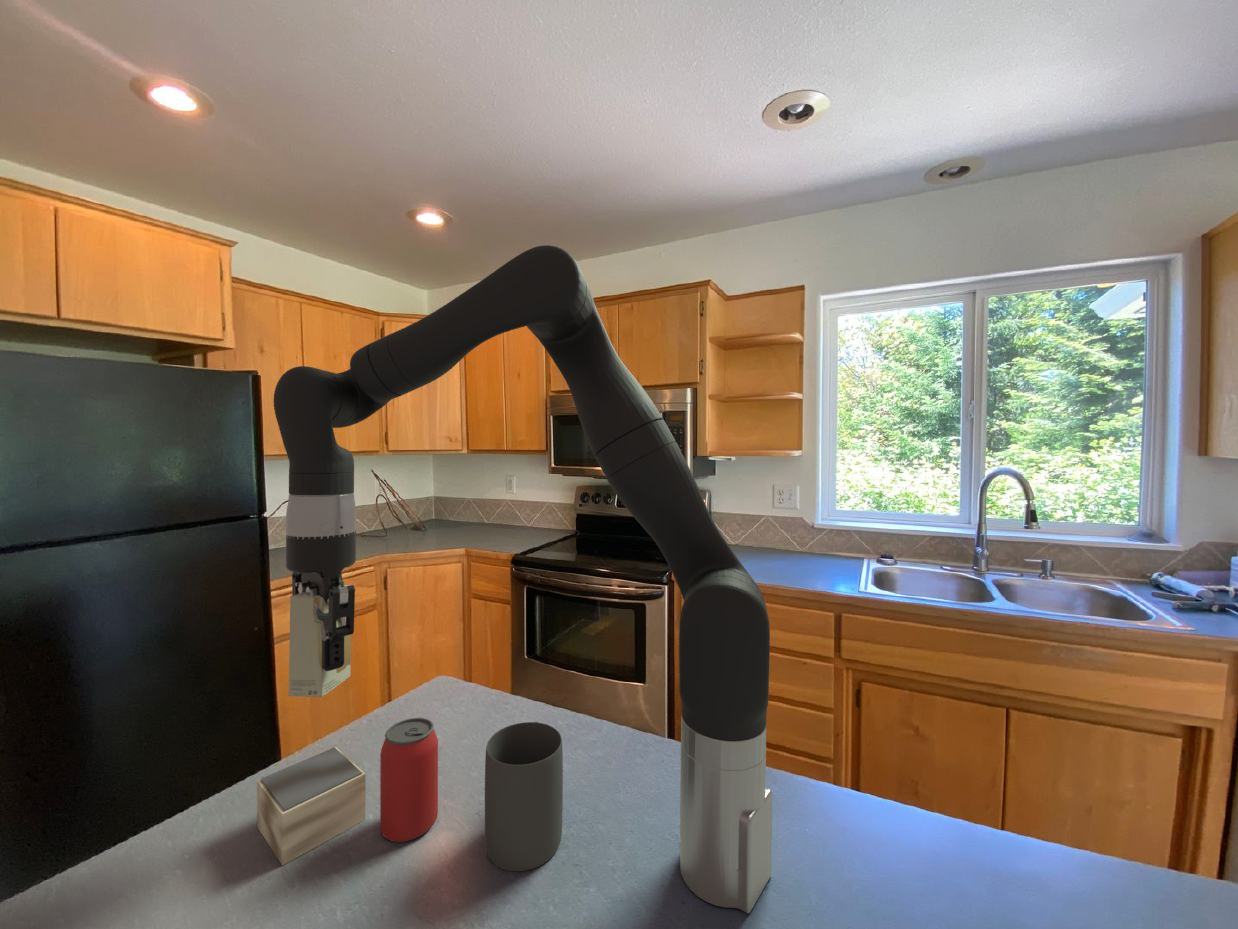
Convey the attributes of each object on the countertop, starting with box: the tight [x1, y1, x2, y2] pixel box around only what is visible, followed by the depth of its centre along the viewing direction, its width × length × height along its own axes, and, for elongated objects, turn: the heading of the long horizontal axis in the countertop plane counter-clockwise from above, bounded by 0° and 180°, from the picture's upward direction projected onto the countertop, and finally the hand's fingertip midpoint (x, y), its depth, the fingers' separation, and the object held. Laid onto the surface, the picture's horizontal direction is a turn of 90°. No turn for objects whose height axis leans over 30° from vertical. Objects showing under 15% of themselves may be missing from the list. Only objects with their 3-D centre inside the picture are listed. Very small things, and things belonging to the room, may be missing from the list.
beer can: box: [379, 717, 439, 843], centre depth 61 cm, size 7×7×12 cm
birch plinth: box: [256, 746, 366, 866], centre depth 61 cm, size 9×9×6 cm
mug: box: [484, 721, 564, 872], centre depth 60 cm, size 14×9×12 cm
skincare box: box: [287, 584, 352, 698], centre depth 61 cm, size 6×4×12 cm
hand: (321, 659), depth 61 cm, fingers closed on skincare box, 7 cm apart
